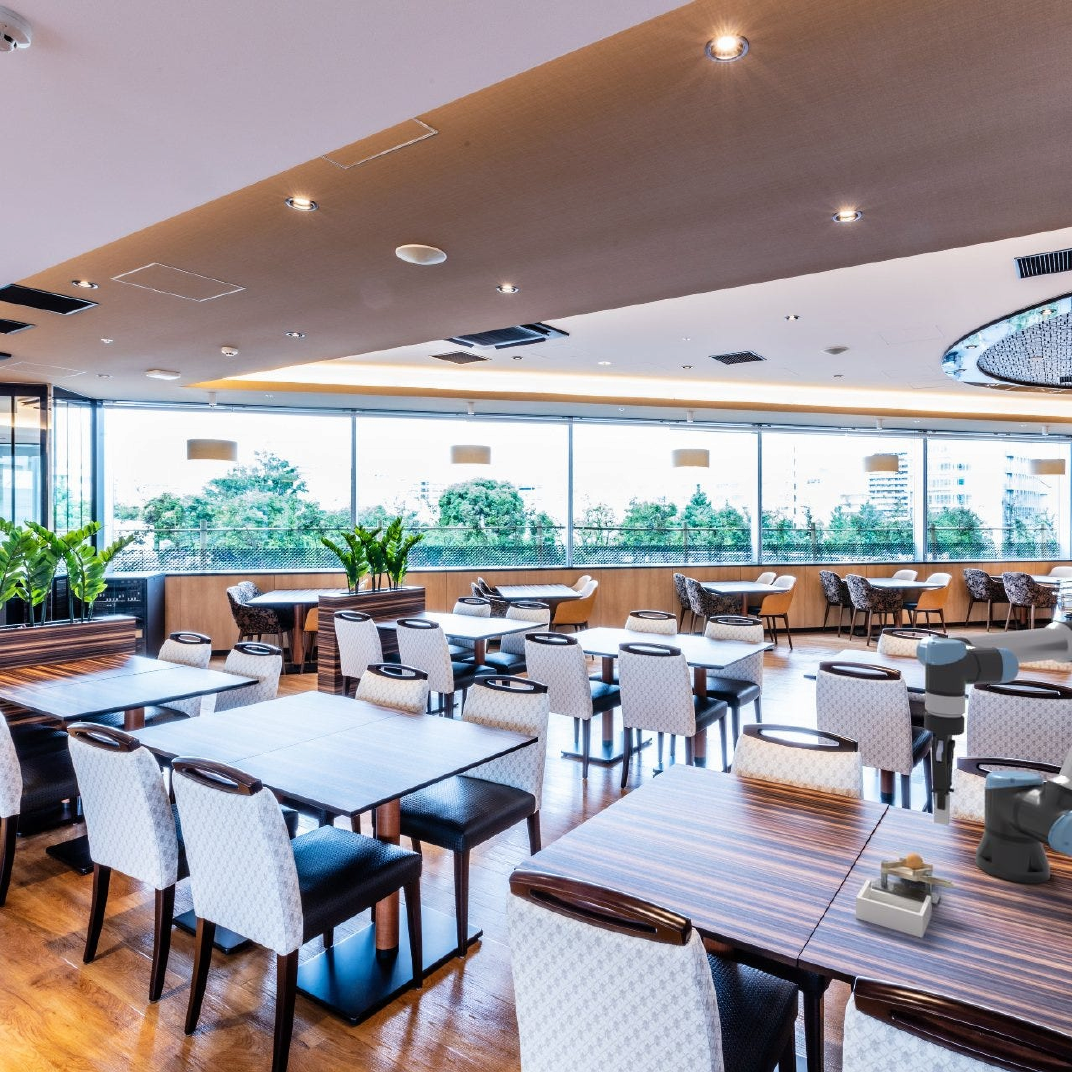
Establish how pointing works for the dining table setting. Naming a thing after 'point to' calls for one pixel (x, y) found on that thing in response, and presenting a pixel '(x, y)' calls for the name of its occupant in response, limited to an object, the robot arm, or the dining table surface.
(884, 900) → the dish
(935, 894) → the stand
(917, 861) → the ball
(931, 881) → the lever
